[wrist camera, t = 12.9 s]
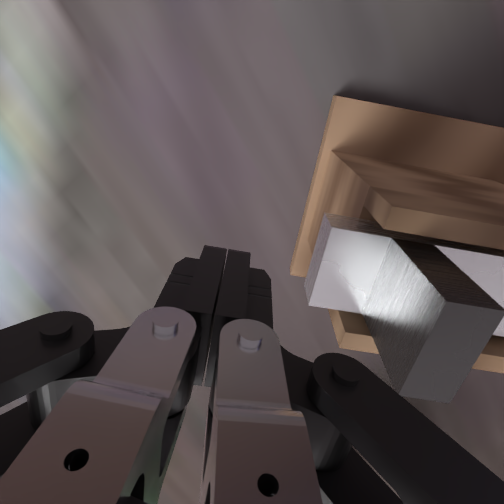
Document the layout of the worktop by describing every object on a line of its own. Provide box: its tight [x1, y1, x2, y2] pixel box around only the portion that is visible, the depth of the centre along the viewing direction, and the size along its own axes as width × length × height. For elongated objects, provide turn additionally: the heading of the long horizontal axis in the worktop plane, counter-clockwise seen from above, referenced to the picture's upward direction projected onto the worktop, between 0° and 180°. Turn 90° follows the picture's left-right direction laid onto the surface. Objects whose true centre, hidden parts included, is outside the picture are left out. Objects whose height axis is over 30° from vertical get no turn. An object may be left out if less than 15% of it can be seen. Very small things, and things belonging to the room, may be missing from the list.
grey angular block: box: [304, 212, 504, 403], centre depth 12 cm, size 12×3×6 cm, turn 80°
